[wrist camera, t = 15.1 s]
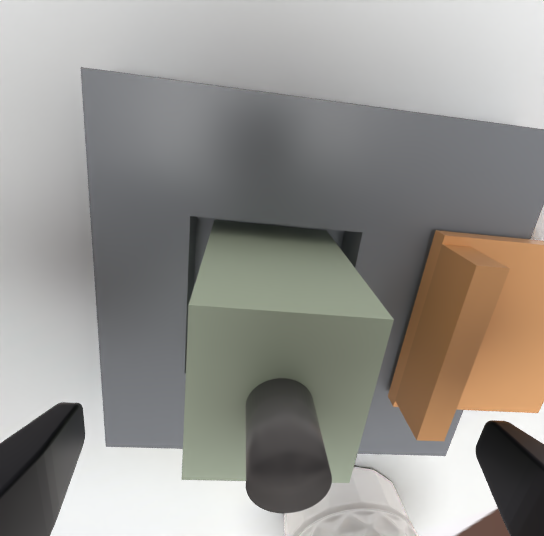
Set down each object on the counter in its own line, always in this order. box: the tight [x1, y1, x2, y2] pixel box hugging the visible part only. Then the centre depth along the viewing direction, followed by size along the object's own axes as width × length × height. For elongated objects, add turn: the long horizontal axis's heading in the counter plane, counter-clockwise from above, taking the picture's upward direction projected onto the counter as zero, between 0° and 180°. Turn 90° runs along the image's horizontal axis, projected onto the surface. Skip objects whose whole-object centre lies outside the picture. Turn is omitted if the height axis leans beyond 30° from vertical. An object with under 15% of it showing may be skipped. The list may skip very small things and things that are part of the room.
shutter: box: [388, 230, 544, 441], centre depth 13 cm, size 6×7×2 cm
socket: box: [81, 67, 544, 456], centre depth 15 cm, size 15×14×2 cm
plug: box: [182, 220, 394, 513], centre depth 11 cm, size 4×5×9 cm
